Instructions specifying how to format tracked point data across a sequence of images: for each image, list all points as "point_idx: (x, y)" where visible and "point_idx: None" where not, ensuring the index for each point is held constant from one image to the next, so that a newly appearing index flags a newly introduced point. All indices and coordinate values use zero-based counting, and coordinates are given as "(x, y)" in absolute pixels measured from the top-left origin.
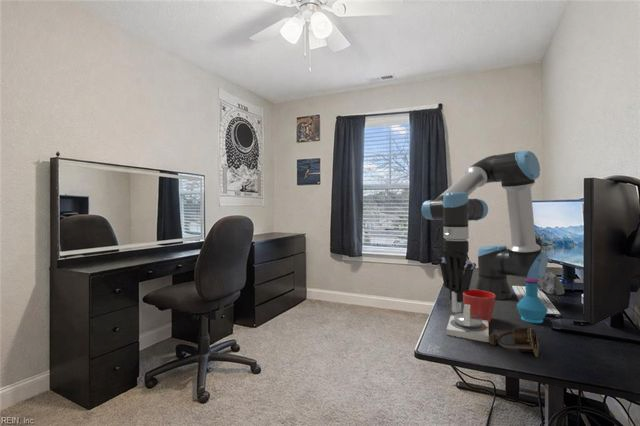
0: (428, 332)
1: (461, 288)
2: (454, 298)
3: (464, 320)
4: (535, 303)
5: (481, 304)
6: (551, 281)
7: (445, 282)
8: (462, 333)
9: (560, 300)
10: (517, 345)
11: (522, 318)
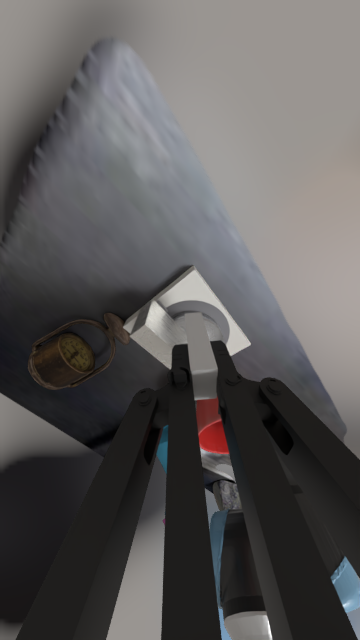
0: (232, 229)
1: (148, 409)
2: (194, 346)
3: (148, 306)
4: (163, 459)
5: (205, 407)
6: (226, 504)
7: (292, 412)
8: (163, 292)
9: (203, 474)
10: (52, 332)
11: None
